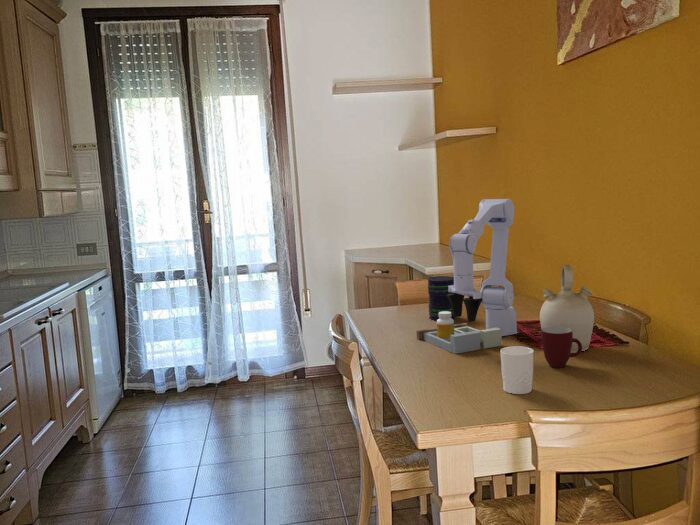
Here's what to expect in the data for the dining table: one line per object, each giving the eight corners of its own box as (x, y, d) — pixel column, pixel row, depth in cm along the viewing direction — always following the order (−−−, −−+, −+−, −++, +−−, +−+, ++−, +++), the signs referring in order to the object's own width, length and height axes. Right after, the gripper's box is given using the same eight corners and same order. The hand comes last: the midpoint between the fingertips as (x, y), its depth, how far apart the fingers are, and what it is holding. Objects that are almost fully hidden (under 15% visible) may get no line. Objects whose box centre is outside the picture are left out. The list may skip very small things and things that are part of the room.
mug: (575, 360, 183) (575, 325, 182) (586, 368, 175) (586, 332, 174) (537, 362, 183) (537, 327, 182) (547, 371, 175) (546, 334, 174)
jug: (596, 343, 200) (596, 261, 196) (591, 356, 186) (591, 269, 182) (544, 339, 206) (543, 260, 203) (536, 353, 192) (535, 268, 189)
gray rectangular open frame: (448, 336, 216) (447, 321, 215) (480, 349, 199) (480, 332, 198) (424, 340, 213) (423, 324, 212) (454, 353, 196) (454, 336, 195)
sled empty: (468, 333, 219) (467, 317, 218) (501, 345, 202) (501, 329, 201) (451, 335, 216) (451, 320, 216) (484, 348, 199) (484, 331, 199)
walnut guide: (465, 331, 222) (465, 322, 222) (503, 345, 202) (503, 336, 202) (416, 338, 215) (416, 330, 215) (451, 354, 195) (451, 345, 195)
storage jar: (460, 316, 244) (459, 276, 242) (449, 322, 236) (448, 281, 234) (435, 314, 249) (434, 275, 247) (424, 320, 241) (422, 279, 239)
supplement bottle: (454, 344, 206) (453, 314, 204) (436, 344, 207) (435, 314, 205) (454, 340, 211) (454, 310, 210) (437, 340, 212) (436, 310, 211)
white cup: (496, 386, 165) (496, 347, 164) (527, 383, 166) (527, 345, 164) (507, 396, 157) (506, 355, 156) (539, 394, 158) (538, 353, 157)
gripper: (439, 272, 200) (440, 316, 202) (465, 278, 187) (466, 325, 189) (459, 270, 203) (460, 313, 205) (486, 276, 190) (487, 322, 192)
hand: (464, 319), depth 197 cm, fingers open, 7 cm apart
